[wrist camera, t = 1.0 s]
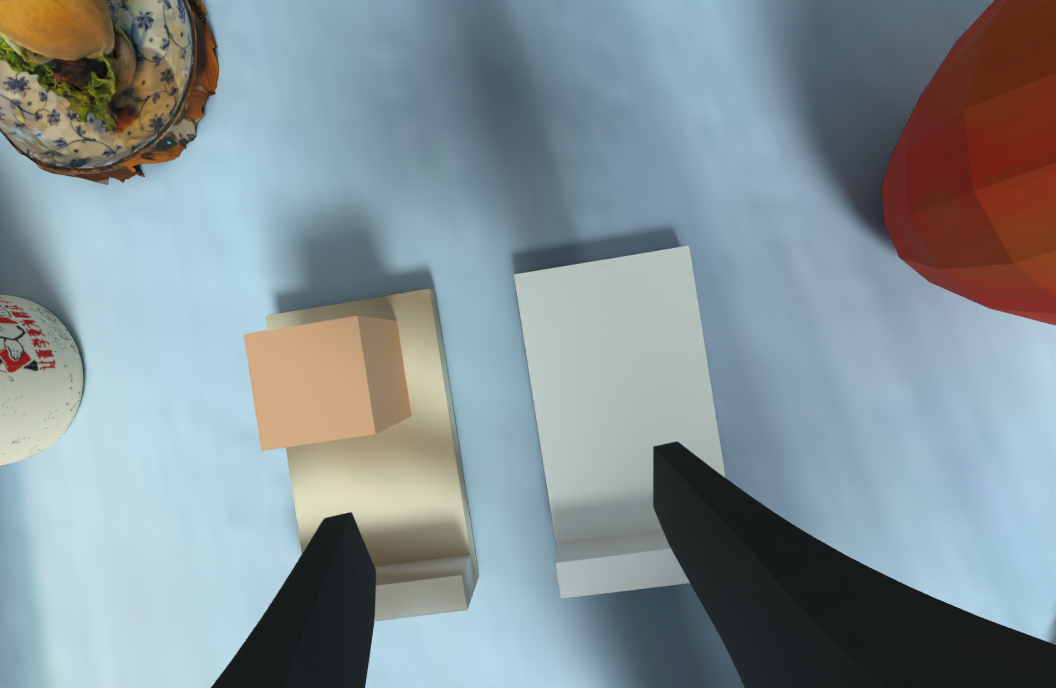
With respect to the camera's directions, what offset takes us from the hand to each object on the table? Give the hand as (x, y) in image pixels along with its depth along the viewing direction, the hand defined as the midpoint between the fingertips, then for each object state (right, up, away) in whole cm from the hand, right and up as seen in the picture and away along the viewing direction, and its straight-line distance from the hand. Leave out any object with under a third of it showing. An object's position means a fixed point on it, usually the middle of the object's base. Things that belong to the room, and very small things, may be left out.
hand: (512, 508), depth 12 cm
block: (-8, +2, +11) cm, 14 cm away
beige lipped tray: (-7, -1, +13) cm, 14 cm away
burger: (-21, +18, +14) cm, 31 cm away
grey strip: (+5, +1, +12) cm, 13 cm away
